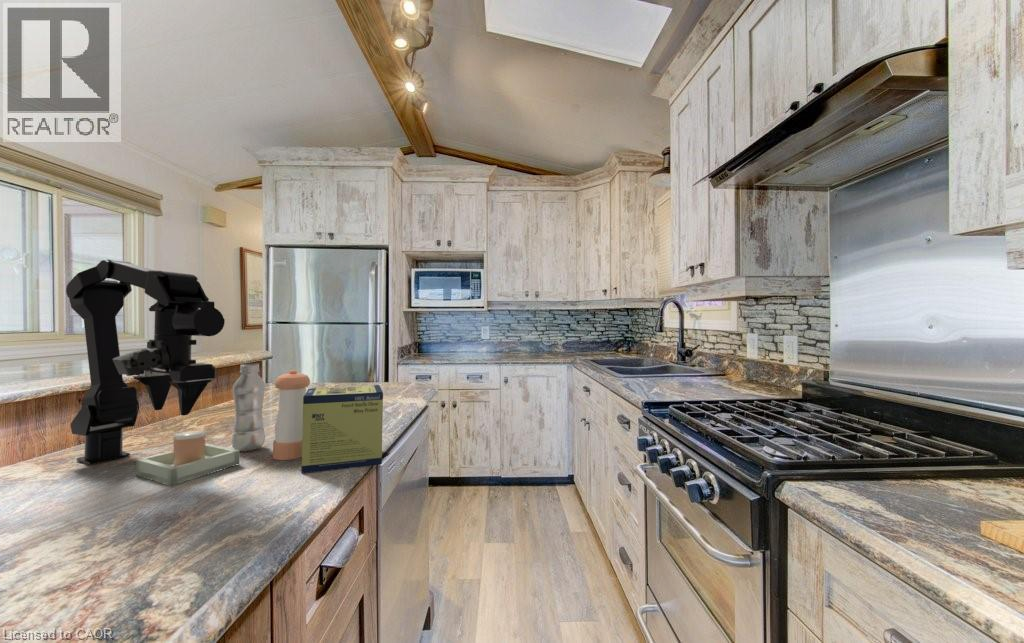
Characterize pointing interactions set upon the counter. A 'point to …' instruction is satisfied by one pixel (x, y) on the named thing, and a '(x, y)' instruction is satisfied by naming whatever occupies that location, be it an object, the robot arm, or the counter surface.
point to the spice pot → (188, 447)
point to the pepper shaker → (290, 415)
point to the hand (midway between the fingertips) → (171, 412)
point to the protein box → (342, 428)
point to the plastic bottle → (248, 409)
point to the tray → (186, 465)
